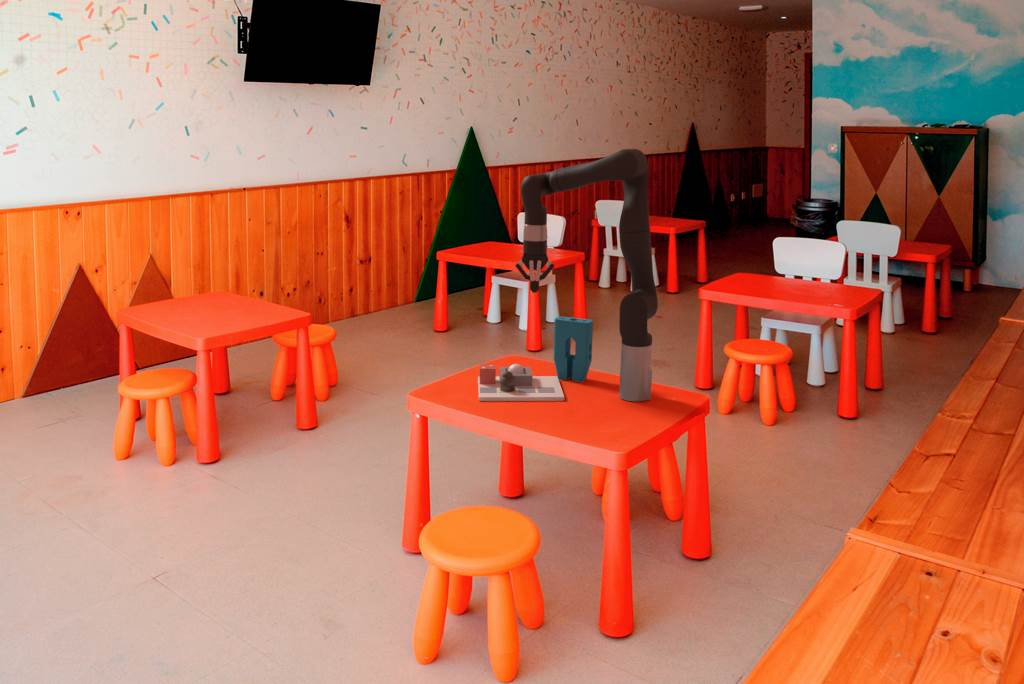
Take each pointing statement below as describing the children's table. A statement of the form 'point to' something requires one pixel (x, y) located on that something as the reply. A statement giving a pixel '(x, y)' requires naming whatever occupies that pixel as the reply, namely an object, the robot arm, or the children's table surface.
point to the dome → (516, 369)
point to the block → (563, 359)
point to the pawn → (507, 382)
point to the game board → (523, 390)
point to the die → (487, 374)
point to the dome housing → (519, 376)
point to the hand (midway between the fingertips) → (534, 292)
